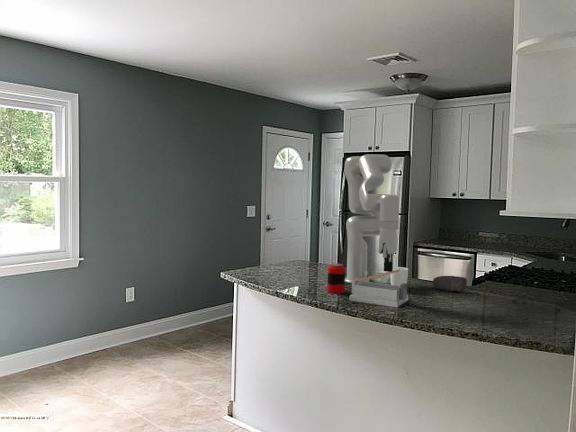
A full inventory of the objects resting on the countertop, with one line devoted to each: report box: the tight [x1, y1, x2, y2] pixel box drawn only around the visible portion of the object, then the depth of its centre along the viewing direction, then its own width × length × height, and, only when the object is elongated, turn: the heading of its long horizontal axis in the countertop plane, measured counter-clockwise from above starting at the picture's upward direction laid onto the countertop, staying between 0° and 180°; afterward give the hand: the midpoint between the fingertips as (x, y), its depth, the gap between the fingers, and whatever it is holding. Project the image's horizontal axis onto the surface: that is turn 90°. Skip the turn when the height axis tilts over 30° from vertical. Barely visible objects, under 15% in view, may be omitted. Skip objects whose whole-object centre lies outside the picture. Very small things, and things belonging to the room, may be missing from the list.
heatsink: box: [349, 278, 409, 308], centre depth 201 cm, size 14×22×8 cm, turn 60°
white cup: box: [389, 266, 409, 286], centre depth 220 cm, size 8×8×10 cm
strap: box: [356, 269, 400, 283], centre depth 201 cm, size 4×18×1 cm, turn 60°
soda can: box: [326, 263, 346, 295], centre depth 215 cm, size 8×8×12 cm
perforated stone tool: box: [431, 275, 468, 293], centre depth 222 cm, size 15×5×7 cm, turn 54°
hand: (388, 271), depth 198 cm, fingers closed
